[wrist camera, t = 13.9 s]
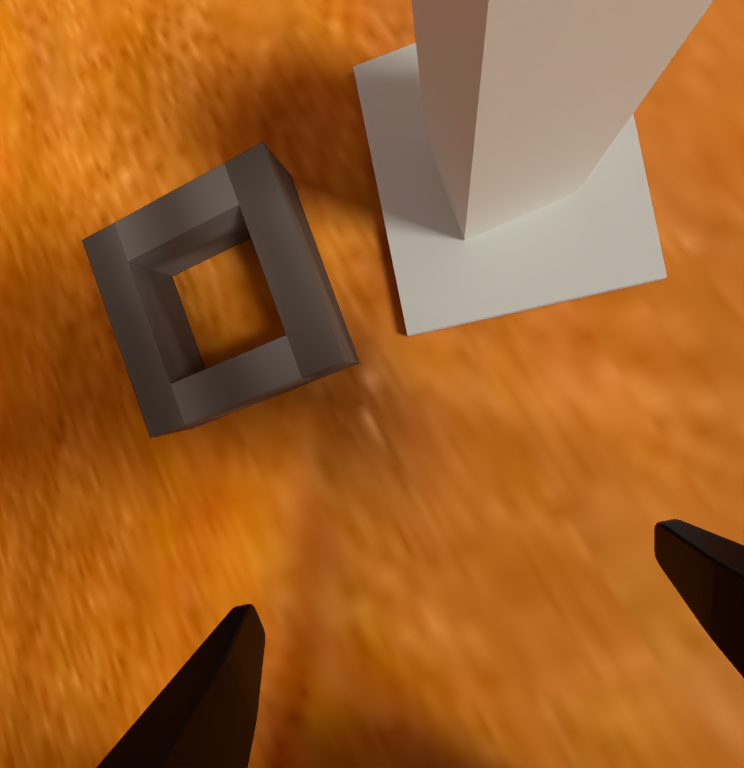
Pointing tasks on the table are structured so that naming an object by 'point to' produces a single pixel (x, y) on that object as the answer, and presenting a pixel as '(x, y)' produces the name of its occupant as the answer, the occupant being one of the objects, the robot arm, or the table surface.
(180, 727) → the robot arm
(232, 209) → the block
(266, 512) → the table surface
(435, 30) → the off-white block
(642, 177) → the rubber mat
